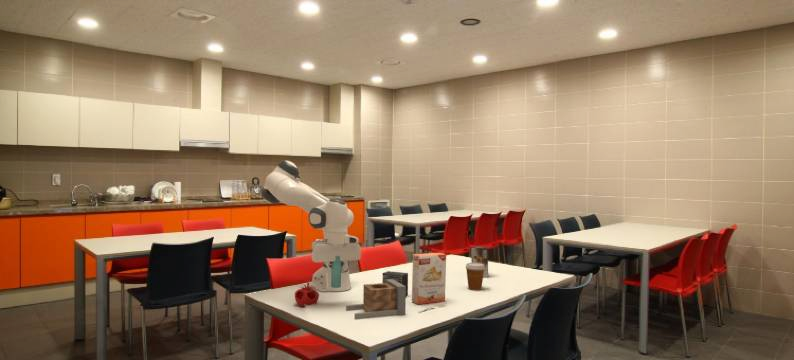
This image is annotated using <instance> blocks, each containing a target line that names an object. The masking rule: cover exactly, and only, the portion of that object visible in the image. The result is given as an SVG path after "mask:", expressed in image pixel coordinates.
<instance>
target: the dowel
mask: <svg viewBox="0 0 794 360" xmlns="http://www.w3.org/2000/svg"><path fill="white" fill-rule="evenodd" d="M331 287H332V288H340V287H341V261H340V256H335V261H334V262H332V272H331Z"/></svg>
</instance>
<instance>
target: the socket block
mask: <svg viewBox="0 0 794 360" xmlns="http://www.w3.org/2000/svg"><path fill="white" fill-rule="evenodd" d="M362 297H363V299H362V300H363V301H362V304H363V309H362V310H363V311H364V312H374V311H385V310H395V309H396V288H395V287H393V286H391V285H390V284H388V283H383V282H382V283H368V284H363V295H362Z"/></svg>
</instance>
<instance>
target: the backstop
mask: <svg viewBox="0 0 794 360" xmlns="http://www.w3.org/2000/svg"><path fill="white" fill-rule="evenodd" d="M386 283H388V284H390V285H391V286H393V287H395V288H396V309H395V310H385V311H374V312H366V311H364V312H356V313H354V320H362V319H363V320H365V319H370V318H371V319H372V318H381V317H393V316H405V315H406V304H407V302H406V297H407V296H406V286H404V285H402V284H401V283H399V282H397V281H395V280H393V279H388V280H386ZM357 310H358V311H360V310H363V303H359V304H358V303H356V304H347V305H345V311H347V312H348V311H350V312H351V311H357Z"/></svg>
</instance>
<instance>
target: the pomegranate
mask: <svg viewBox="0 0 794 360" xmlns="http://www.w3.org/2000/svg"><path fill="white" fill-rule="evenodd" d="M309 283H310V282H306V285H305V284H304V285H303V286H299V289H297V290H296V291H295V292H294V299H295V303H296V304H297V306H299V307H305V306H311V305H315V304H316V305H317V303H318V301H319V297H320V294H319V291H318V290H316V289H313V288H315V287H313V285H312V287H313V288H312V287H311V286H310V287H309Z"/></svg>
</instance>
